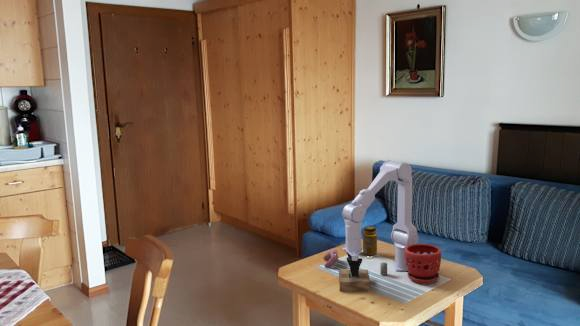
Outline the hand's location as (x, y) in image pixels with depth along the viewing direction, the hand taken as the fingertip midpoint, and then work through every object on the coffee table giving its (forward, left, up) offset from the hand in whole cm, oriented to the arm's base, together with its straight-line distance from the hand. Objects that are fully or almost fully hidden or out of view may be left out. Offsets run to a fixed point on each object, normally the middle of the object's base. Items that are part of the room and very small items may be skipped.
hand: (353, 272), depth 179 cm
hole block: (0, 0, -5) cm, 5 cm away
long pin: (0, 0, -5) cm, 5 cm away
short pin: (-12, -9, -5) cm, 16 cm away
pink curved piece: (+8, -21, -5) cm, 23 cm away
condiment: (-8, -31, -5) cm, 32 cm away
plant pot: (-26, -5, -5) cm, 27 cm away
